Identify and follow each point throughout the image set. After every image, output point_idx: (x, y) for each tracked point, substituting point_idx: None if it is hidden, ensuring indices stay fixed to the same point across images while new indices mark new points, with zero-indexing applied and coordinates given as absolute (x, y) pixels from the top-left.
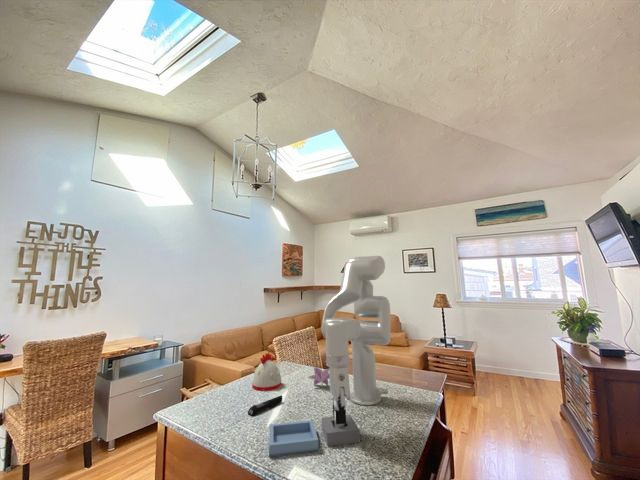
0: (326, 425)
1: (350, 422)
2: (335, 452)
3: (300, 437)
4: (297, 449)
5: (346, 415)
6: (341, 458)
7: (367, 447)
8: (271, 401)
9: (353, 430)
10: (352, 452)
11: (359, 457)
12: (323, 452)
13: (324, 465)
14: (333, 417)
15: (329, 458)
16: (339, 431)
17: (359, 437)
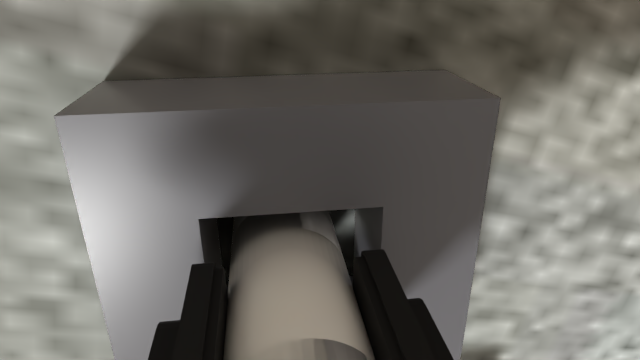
0: None
1: (299, 163)
2: (508, 283)
3: None
4: None
5: (81, 175)
6: (587, 254)
7: (544, 18)
8: None
9: (486, 166)
10: (557, 168)
11: (635, 130)
12: (480, 350)
13: (603, 351)
14: (136, 332)
15: (554, 322)
16: (463, 306)
17: (463, 79)
